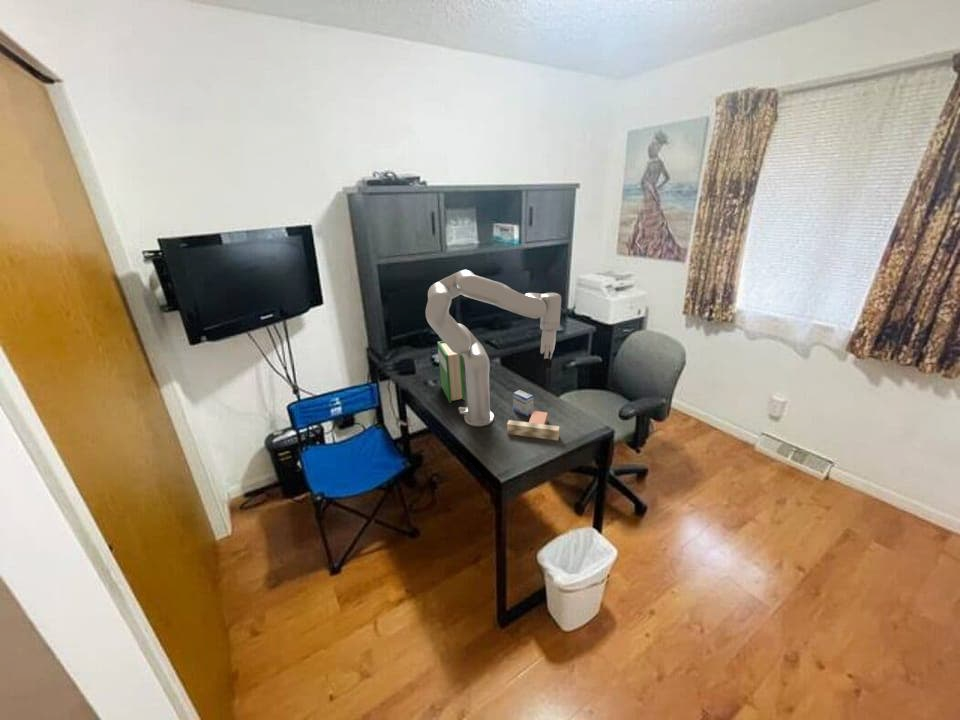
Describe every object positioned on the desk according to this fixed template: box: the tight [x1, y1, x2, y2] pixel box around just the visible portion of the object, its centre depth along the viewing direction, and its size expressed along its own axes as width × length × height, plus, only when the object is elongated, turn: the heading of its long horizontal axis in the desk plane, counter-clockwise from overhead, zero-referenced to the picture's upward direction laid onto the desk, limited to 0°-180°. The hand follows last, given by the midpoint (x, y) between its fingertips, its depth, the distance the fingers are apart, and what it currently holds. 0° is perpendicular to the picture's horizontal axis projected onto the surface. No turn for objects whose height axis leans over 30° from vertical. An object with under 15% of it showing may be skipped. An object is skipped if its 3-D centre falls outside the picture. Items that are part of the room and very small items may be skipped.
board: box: [506, 419, 561, 441], centre depth 150 cm, size 20×3×4 cm, turn 73°
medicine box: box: [512, 389, 534, 417], centre depth 165 cm, size 8×4×9 cm, turn 44°
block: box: [528, 410, 548, 425], centre depth 156 cm, size 6×10×4 cm, turn 162°
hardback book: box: [436, 340, 466, 404], centre depth 180 cm, size 18×7×24 cm, turn 18°
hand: (547, 366), depth 158 cm, fingers closed
